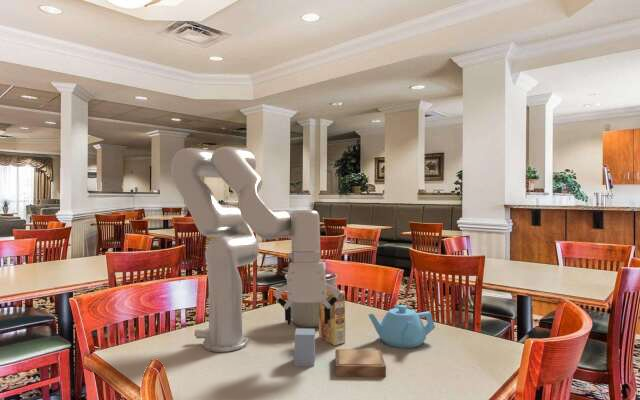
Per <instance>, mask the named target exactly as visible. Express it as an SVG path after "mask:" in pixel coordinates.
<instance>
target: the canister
mask: <svg viewBox="0 0 640 400" xmlns="http://www.w3.org/2000/svg"><path fill="white" fill-rule="evenodd" d="M325 275H326V283H327V284H329V285H331V286H333V287H335V288H336V280H337V278H338V277H339V276H338V274H336V273H335V272H334V271H332V270H330V269H327V268H326V269H325ZM287 276H288V273H285V275H284V278H285V279H286V280H287ZM290 307H291V322H293V324H295V325H297V326H299V327H303V328H319V302H314V303H292V304H291V305H290Z"/></svg>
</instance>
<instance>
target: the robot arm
mask: <svg viewBox="0 0 640 400" xmlns="http://www.w3.org/2000/svg"><path fill="white" fill-rule="evenodd" d="M256 160H257V159H256V157H255V155H254V154H253V153H252V152H251V151H250V150H247V149H245V148H240V147H234V146H221V147H219V148H216V149H215V150H211V149H206V148H205V149H203V148H196V147H186V148H182V149H181V150H178V151H177V152H176V153H175V155H174V156H173V158H172V162H171V165H170V166H171V167H170V170H171V171H170V172H171V178H172V181H173V183H174V186H175V187H176V189H177V190H178V192H179V194H180V196H181V197H182V199H183V201H184V203H185V205H186V207H187V210H188V211H189V213H190V216H191V217H192V220H193V222H194V225H195V226H196V229H197V231H198V232H199V233H200V235H202V236H204V237H208V238H209V237H212V238H213V237H215V238H213V239H212V240H211V241H210V242H209V243H208V244H207V246H206V248H205V252H204V256H205V263H206V268H207V275H208V328H206V329H195V330H194V337H195V338H196V339H204V340H203V342H202V346H203V348H204V349H205V350H207V351H209V352H210V351H211V352H217V353H218V352H219V353H220V352H221V353H222V352H223V353H224V352H225V353H226V352H233V351H237V350H239V349H242V348H245V347H246V346H247V344H248V338H247V337H246V336H244V335H243V280H242V276H241V275H240V272H239V269H238V268H239V267H243V266H247V265H250V264H252V263H254V262H255V261H256V260H257V258H258V257H259V255H260V254H259V253H260V248H259V246H260V245H259V243H258V241H257V238H256V236H255V235H254V233H255V234H256V235H257V236H258V237H260V238H261V239H264V240H274V239H275V240H276V239H283V238H289V237H291V238H290V239H291V242H290V243H291V244H290V245H291V251H290V252H289V253H286V254H285V259H287V260H291V262H289V263H288V268H287V274H288V276H287V279H286V283H287V284H285V285H284V286H281V287H280V288H278V289H277V290H275V291H274V292H273V295H274V297H275V299H276V301H277V303H278V304H279V305H281V307H282V308H283V309H284V320H285V322H287V326H290V325H291V324H292V318H291V307H290V305H291V304H292V303H314V302H322V303H323V304H324V305H325V324H328V320H330V308H331V306H332V305H333V304H334V303H335V302H336V301H337V298H338V296H339V294H340V291H341V290H340V289H339V288H337V287H336V286H335V287H333V286H331V285H329V284H327V283H326V275H325V268H326V267H325V264H324V262H323V261H321V260H322V258H321V232H320V231H321V223H320V221H321V220H320V214H319V212H318V211H316V210H314V209H312V210H311V209H305V210H290V209H272V210H270V208H269V207H267V205H266V204H265V203H264V202H263V201H262V200H261V198H260V196H259V195H258V193H259V192H260V190H261V189H262V186H263V183H264V182H263V179H262V177H261V176H260V175H259V174H258V173H257V171H255V170H256V168H257V162H256ZM201 177H203V178H216V179H217V178H220V179H222V180H223V181H224V183H225V184H226V185H227V186H228V187H229V189H231V191H232V192H233V193H234V195H235V196H236V197H237V204H238V205H237V206H238V207H237V206H235V205H233V204H221V203H219V202H218V200H217V199H216V197H215V195H214V193H213V191H212V189H211V188H210V186H208V184H207V183H205V181H204V180H202V178H201ZM327 290H329V291H331V292H333V293H334V295H333V297H332V298H331V299H330V300H328V299H327V298H326V296H327ZM285 292H286V298H287V301H286V300H285V298H283V297H282V294H283V293H285Z"/></svg>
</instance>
